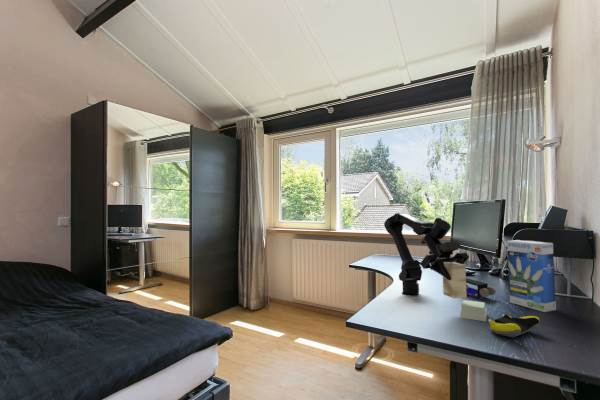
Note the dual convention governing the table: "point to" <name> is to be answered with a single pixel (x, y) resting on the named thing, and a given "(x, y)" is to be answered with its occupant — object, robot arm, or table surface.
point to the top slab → (473, 307)
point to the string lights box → (531, 274)
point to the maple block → (455, 280)
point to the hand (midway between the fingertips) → (456, 279)
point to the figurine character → (479, 289)
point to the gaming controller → (513, 325)
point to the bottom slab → (473, 316)
